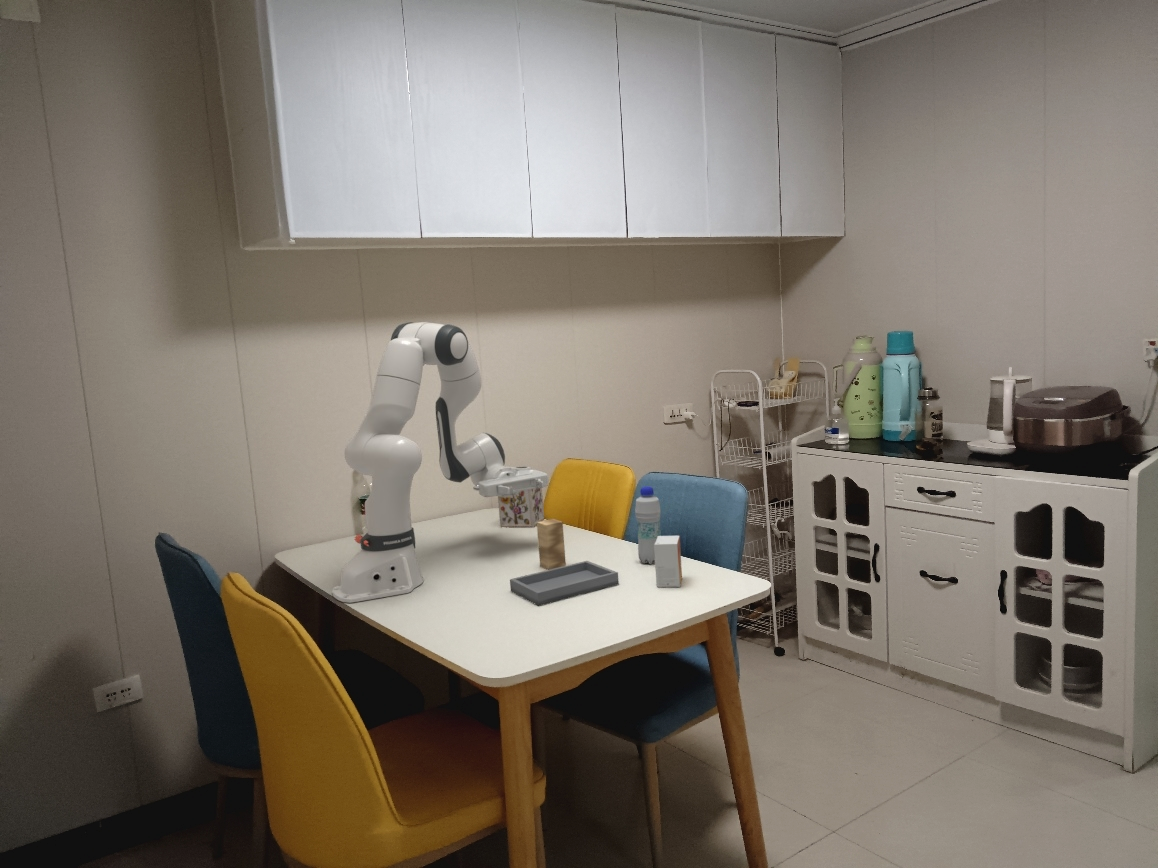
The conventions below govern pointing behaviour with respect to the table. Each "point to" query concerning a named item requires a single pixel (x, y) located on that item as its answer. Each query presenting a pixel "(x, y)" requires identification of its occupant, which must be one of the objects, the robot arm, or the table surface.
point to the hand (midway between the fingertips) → (526, 487)
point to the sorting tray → (563, 582)
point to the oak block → (551, 544)
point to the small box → (668, 561)
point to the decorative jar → (521, 509)
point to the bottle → (647, 523)
